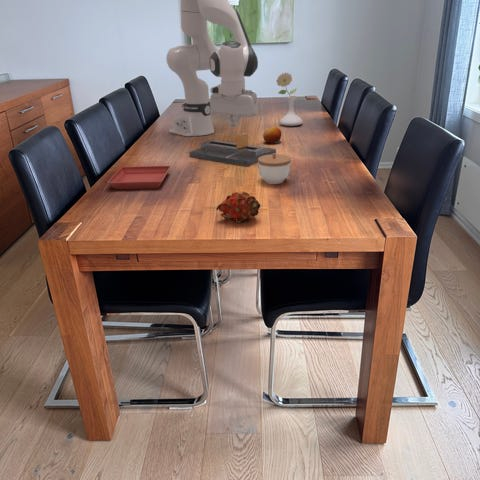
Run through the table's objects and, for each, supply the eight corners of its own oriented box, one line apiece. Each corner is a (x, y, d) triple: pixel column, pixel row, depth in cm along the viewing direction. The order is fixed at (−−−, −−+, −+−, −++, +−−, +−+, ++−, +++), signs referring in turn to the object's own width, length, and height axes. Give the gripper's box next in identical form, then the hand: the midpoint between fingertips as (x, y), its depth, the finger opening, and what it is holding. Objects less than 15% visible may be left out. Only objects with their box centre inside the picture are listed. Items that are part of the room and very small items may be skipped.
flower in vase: (302, 122, 239) (303, 70, 228) (302, 127, 228) (304, 73, 218) (276, 122, 240) (276, 71, 229) (275, 127, 230) (275, 73, 219)
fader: (236, 152, 182) (236, 135, 179) (244, 149, 186) (243, 132, 183) (241, 153, 181) (240, 135, 178) (248, 150, 185) (247, 133, 182)
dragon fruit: (264, 226, 127) (221, 232, 129) (262, 200, 131) (220, 206, 133) (259, 210, 120) (213, 216, 122) (257, 182, 124) (213, 189, 126)
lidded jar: (281, 188, 150) (281, 159, 146) (252, 183, 155) (251, 155, 151) (295, 178, 158) (296, 151, 154) (267, 174, 163) (267, 148, 159)
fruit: (284, 141, 198) (275, 125, 196) (268, 151, 201) (259, 134, 199) (286, 137, 205) (277, 121, 203) (271, 146, 208) (262, 130, 206)
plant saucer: (122, 175, 170) (121, 166, 168) (171, 174, 169) (171, 165, 167) (108, 192, 153) (106, 182, 152) (162, 191, 152) (161, 181, 151)
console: (189, 156, 187) (188, 146, 185) (220, 145, 202) (219, 136, 200) (247, 166, 172) (247, 156, 170) (275, 153, 187) (275, 144, 185)
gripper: (261, 89, 172) (261, 127, 178) (217, 86, 183) (218, 121, 189) (251, 91, 167) (252, 130, 173) (206, 88, 178) (208, 124, 184)
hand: (234, 126), depth 181 cm, fingers closed
